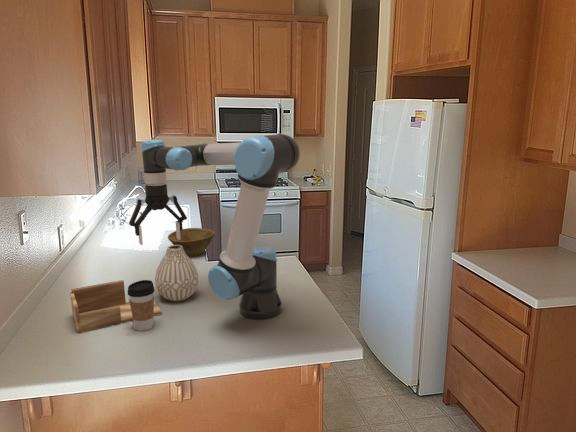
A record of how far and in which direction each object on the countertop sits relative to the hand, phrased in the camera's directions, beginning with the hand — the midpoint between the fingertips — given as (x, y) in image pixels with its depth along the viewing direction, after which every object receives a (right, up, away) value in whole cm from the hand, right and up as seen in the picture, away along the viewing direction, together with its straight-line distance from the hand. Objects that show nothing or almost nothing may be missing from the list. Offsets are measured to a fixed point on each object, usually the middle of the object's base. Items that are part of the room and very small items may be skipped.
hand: (160, 241), depth 170 cm
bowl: (0, -9, +58) cm, 59 cm away
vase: (+5, -22, +7) cm, 23 cm away
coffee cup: (-1, -27, -16) cm, 32 cm away
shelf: (-13, -25, -8) cm, 29 cm away
